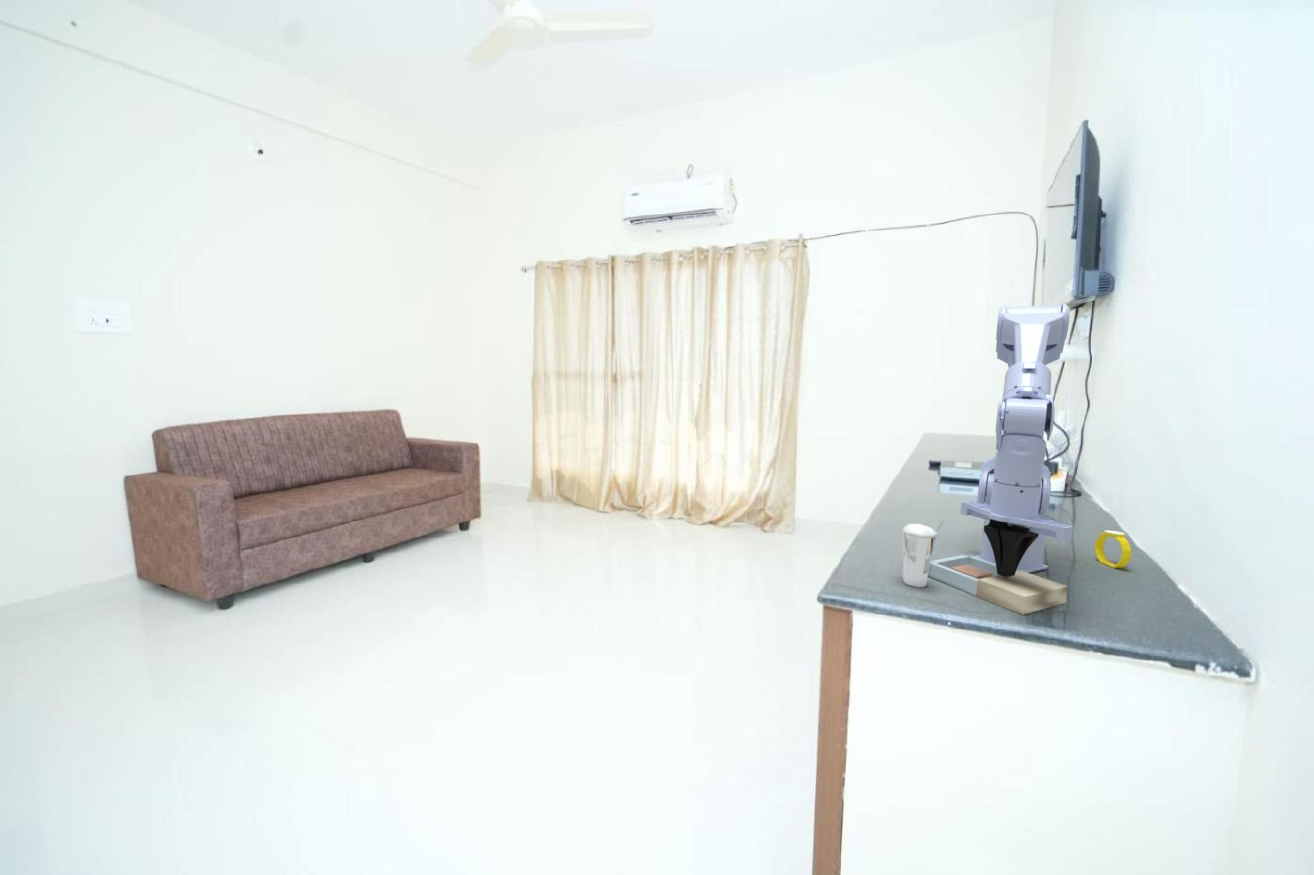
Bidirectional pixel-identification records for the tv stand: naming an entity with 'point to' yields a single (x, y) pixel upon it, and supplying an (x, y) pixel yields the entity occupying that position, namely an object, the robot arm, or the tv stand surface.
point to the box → (957, 579)
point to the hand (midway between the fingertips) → (1005, 574)
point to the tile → (973, 571)
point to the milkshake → (917, 553)
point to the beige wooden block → (1022, 592)
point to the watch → (1123, 543)
